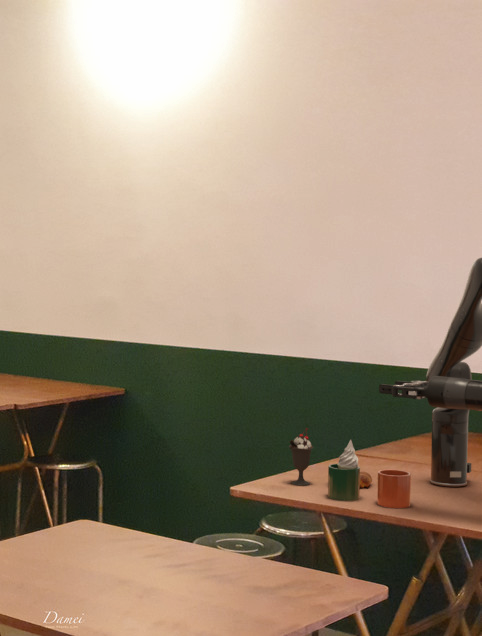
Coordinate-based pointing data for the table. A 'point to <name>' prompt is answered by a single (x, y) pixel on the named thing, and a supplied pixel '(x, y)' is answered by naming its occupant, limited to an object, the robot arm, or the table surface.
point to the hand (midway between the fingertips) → (387, 386)
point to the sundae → (301, 456)
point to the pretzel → (365, 479)
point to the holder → (394, 488)
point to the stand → (343, 483)
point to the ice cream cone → (348, 458)
